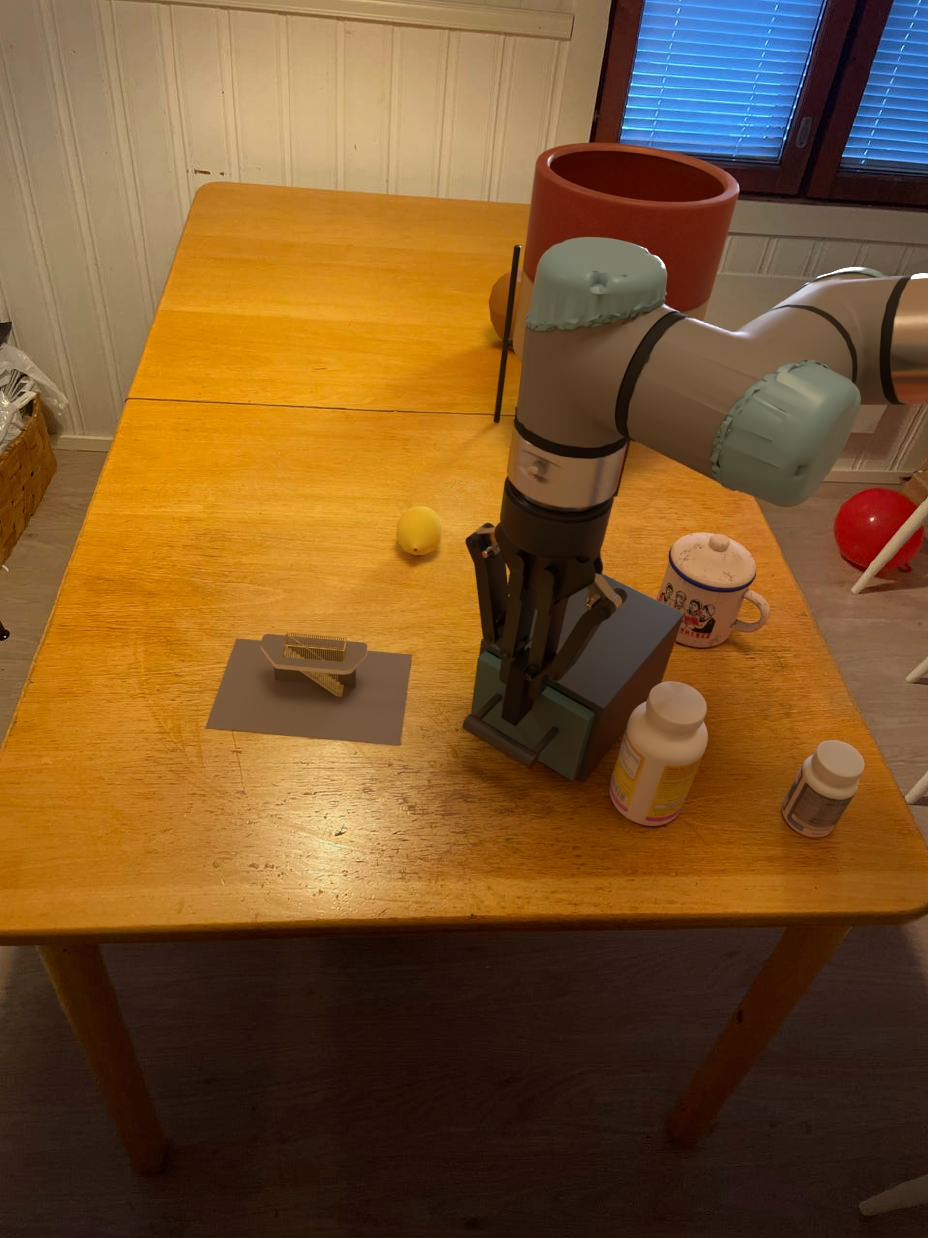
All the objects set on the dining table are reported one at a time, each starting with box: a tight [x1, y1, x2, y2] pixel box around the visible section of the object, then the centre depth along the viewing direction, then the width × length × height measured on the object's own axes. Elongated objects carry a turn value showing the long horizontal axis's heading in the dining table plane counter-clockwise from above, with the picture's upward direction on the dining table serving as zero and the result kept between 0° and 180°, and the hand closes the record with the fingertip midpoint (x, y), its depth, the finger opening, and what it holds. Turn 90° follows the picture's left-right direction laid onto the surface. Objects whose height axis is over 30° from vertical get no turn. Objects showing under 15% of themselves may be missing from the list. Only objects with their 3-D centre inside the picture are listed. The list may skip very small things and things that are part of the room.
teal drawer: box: [461, 651, 595, 782], centre depth 81 cm, size 20×11×8 cm, turn 144°
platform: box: [204, 631, 413, 746], centre depth 83 cm, size 12×18×7 cm, turn 87°
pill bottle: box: [781, 739, 866, 838], centre depth 76 cm, size 5×5×8 cm
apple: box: [488, 268, 523, 351], centre depth 142 cm, size 13×13×11 cm
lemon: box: [395, 505, 444, 556], centre depth 101 cm, size 7×5×5 cm
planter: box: [493, 142, 740, 497], centre depth 112 cm, size 24×25×35 cm
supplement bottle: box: [608, 680, 709, 827], centre depth 75 cm, size 7×7×13 cm
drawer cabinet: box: [478, 573, 684, 783], centre depth 84 cm, size 16×13×10 cm
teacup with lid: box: [656, 532, 771, 648], centre depth 93 cm, size 12×9×12 cm
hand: (516, 712), depth 76 cm, fingers closed
